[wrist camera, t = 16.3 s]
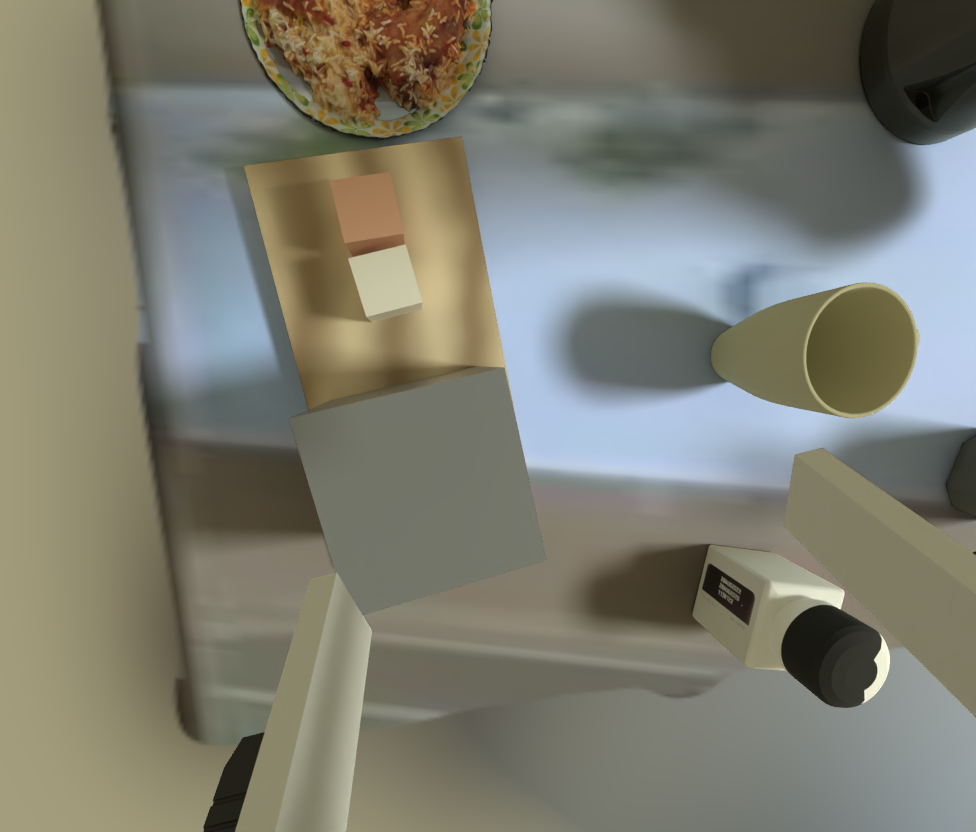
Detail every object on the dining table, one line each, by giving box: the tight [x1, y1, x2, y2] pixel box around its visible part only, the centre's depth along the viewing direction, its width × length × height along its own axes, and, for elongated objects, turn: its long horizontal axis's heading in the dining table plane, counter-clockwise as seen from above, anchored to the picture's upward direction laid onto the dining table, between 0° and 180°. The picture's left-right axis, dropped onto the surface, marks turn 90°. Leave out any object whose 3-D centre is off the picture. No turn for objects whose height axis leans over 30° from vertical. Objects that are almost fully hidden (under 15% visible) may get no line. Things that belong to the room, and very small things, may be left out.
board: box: [244, 137, 513, 410], centre depth 35 cm, size 16×32×2 cm, turn 12°
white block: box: [348, 244, 423, 322], centre depth 32 cm, size 4×4×4 cm
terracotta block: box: [329, 172, 405, 257], centre depth 31 cm, size 4×4×4 cm
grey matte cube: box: [289, 366, 547, 615], centre depth 30 cm, size 12×12×11 cm
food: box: [240, 0, 493, 139], centre depth 32 cm, size 18×18×3 cm
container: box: [692, 545, 890, 708], centre depth 37 cm, size 8×8×13 cm
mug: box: [711, 283, 919, 418], centre depth 35 cm, size 11×10×12 cm
